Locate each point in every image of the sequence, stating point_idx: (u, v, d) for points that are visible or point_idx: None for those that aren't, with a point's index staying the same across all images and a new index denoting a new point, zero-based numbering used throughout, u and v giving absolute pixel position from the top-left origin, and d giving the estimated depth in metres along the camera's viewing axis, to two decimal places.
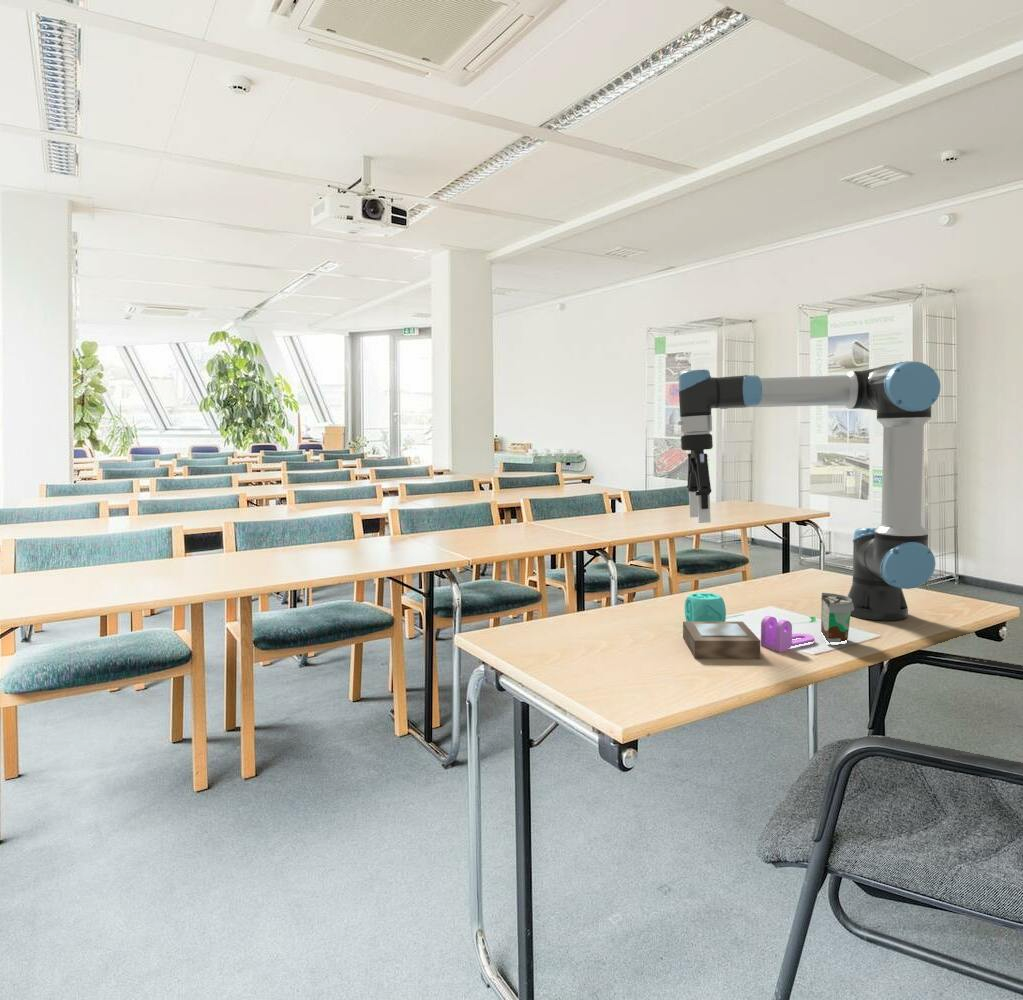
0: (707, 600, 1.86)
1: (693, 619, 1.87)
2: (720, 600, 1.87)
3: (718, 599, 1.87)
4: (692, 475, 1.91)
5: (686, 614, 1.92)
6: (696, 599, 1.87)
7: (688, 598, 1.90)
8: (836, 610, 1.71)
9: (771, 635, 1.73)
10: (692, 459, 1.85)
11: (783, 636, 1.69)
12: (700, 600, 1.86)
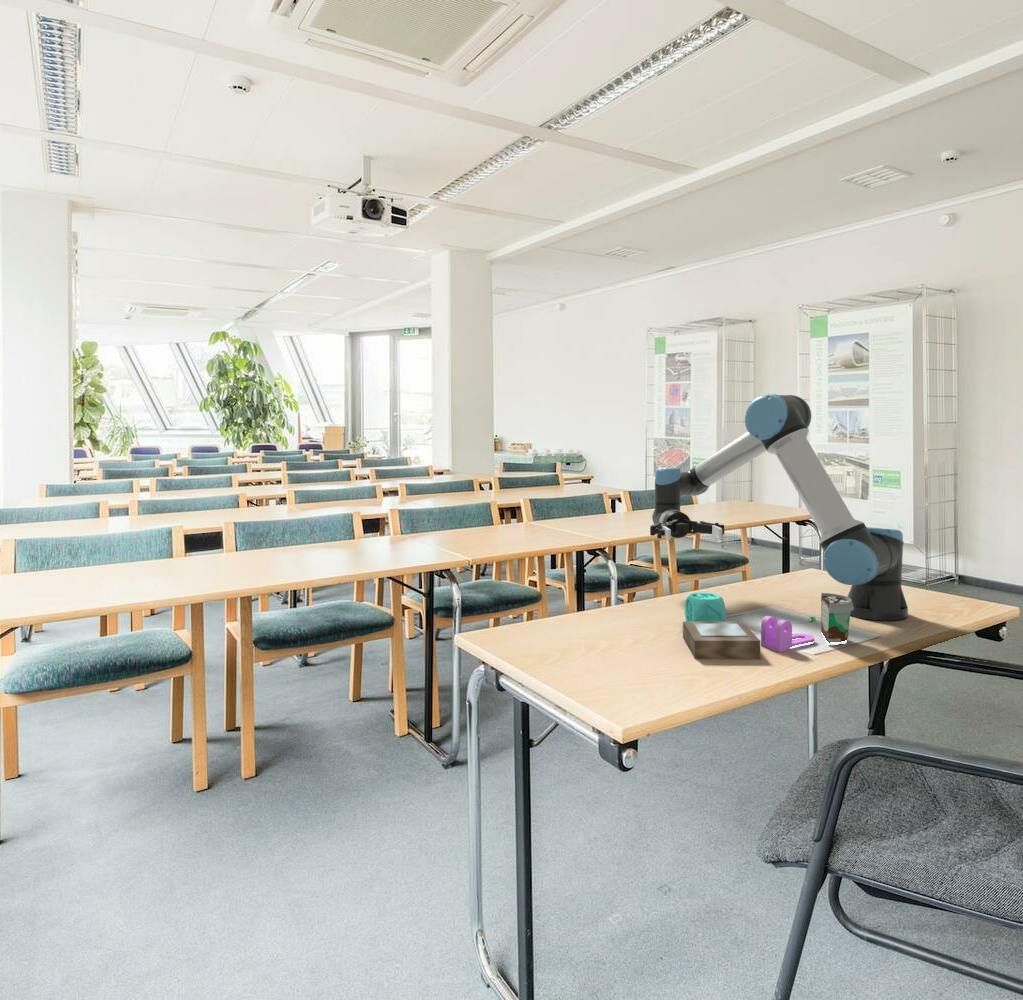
0: (707, 600, 1.86)
1: (693, 619, 1.87)
2: (720, 600, 1.87)
3: (718, 599, 1.87)
4: (698, 531, 2.09)
5: (686, 614, 1.92)
6: (696, 599, 1.87)
7: (688, 598, 1.90)
8: (836, 610, 1.71)
9: (771, 635, 1.73)
10: None
11: (783, 636, 1.69)
12: (700, 600, 1.86)
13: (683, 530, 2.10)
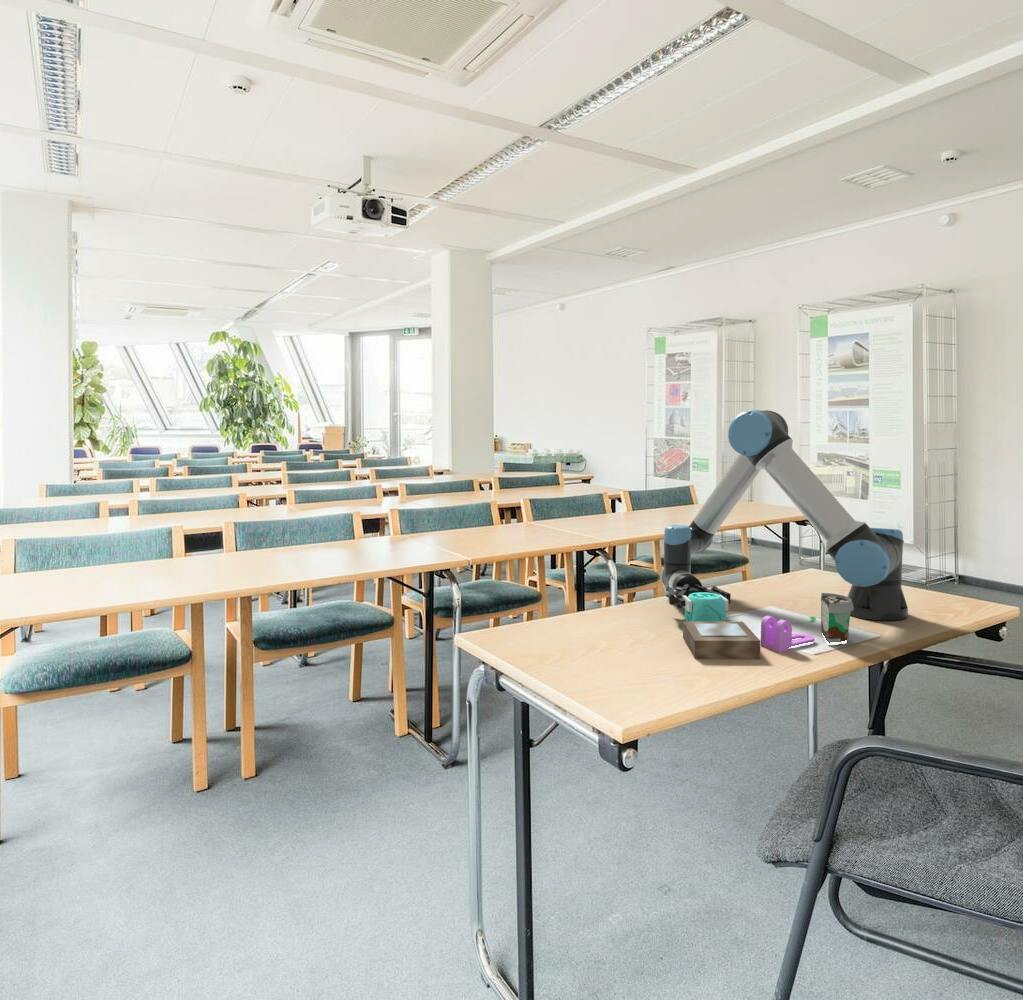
0: (707, 600, 1.86)
1: (693, 619, 1.87)
2: (720, 600, 1.87)
3: (718, 599, 1.87)
4: None
5: (686, 614, 1.92)
6: (696, 599, 1.87)
7: None
8: (836, 610, 1.71)
9: (771, 635, 1.73)
10: None
11: (783, 636, 1.69)
12: (700, 600, 1.86)
13: None
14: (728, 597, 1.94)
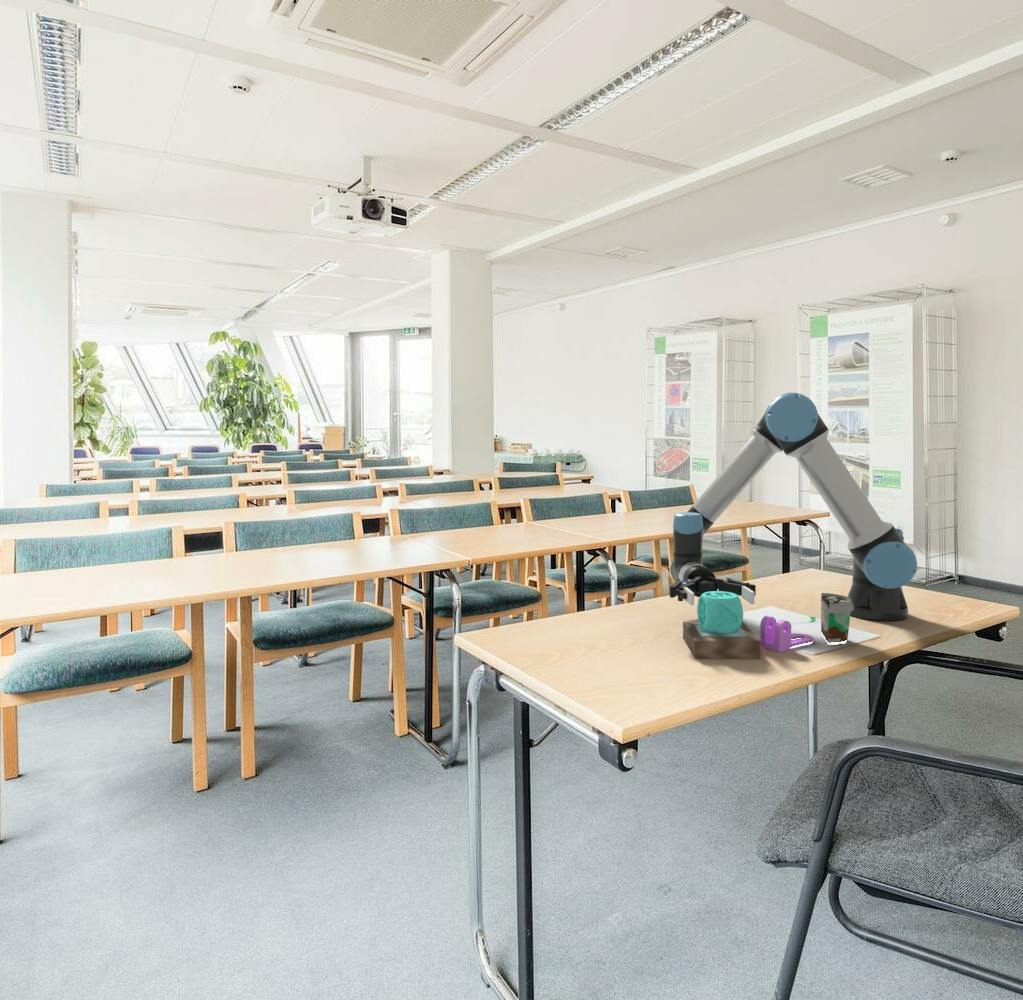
0: (722, 599, 1.68)
1: (706, 620, 1.69)
2: (737, 599, 1.69)
3: (734, 598, 1.68)
4: (725, 591, 1.81)
5: (699, 615, 1.74)
6: (710, 598, 1.69)
7: (701, 597, 1.72)
8: (836, 610, 1.71)
9: (770, 635, 1.73)
10: None
11: (782, 636, 1.69)
12: (714, 599, 1.68)
13: (707, 590, 1.82)
14: (753, 589, 1.77)
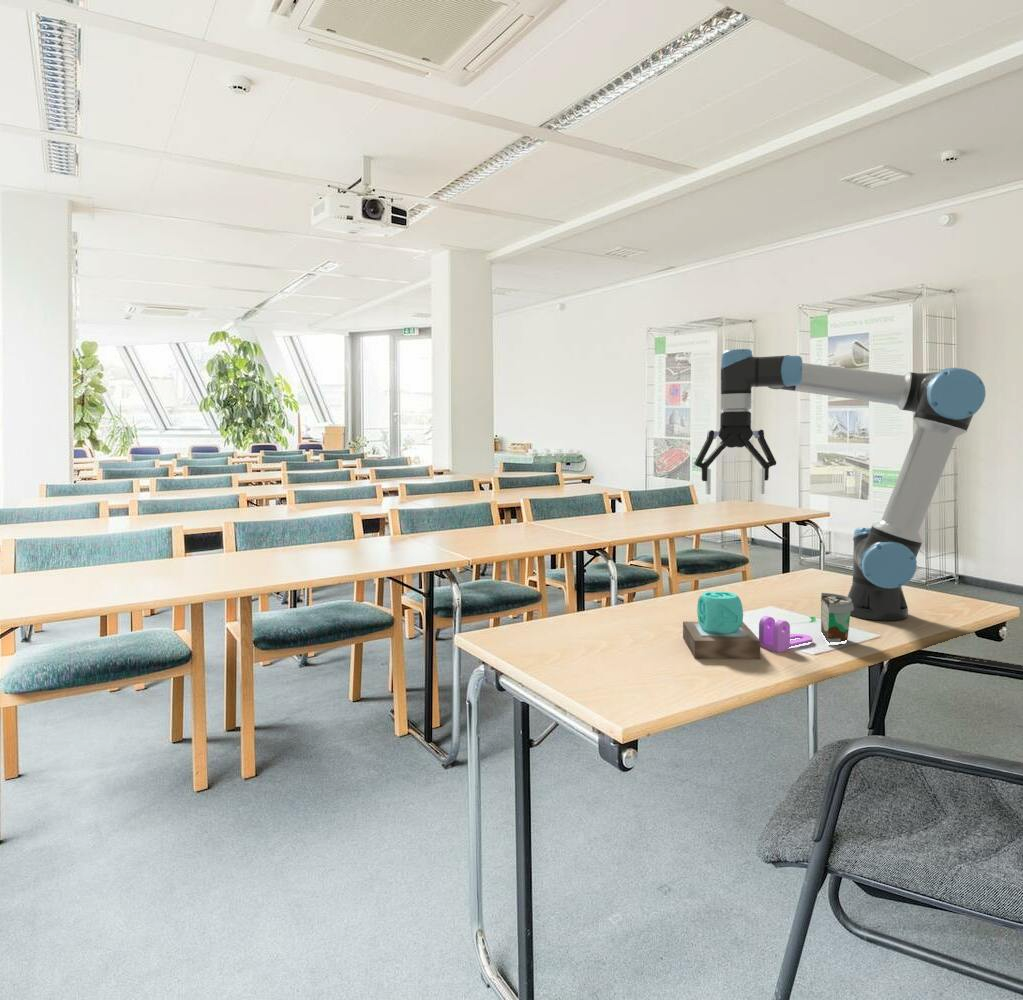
0: (722, 599, 1.68)
1: (706, 620, 1.69)
2: (737, 599, 1.69)
3: (734, 598, 1.68)
4: (749, 451, 1.95)
5: (699, 615, 1.74)
6: (710, 598, 1.69)
7: (701, 597, 1.72)
8: (836, 610, 1.71)
9: (769, 635, 1.73)
10: None
11: (781, 636, 1.69)
12: (714, 599, 1.68)
13: None
14: (772, 465, 1.94)
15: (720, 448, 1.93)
